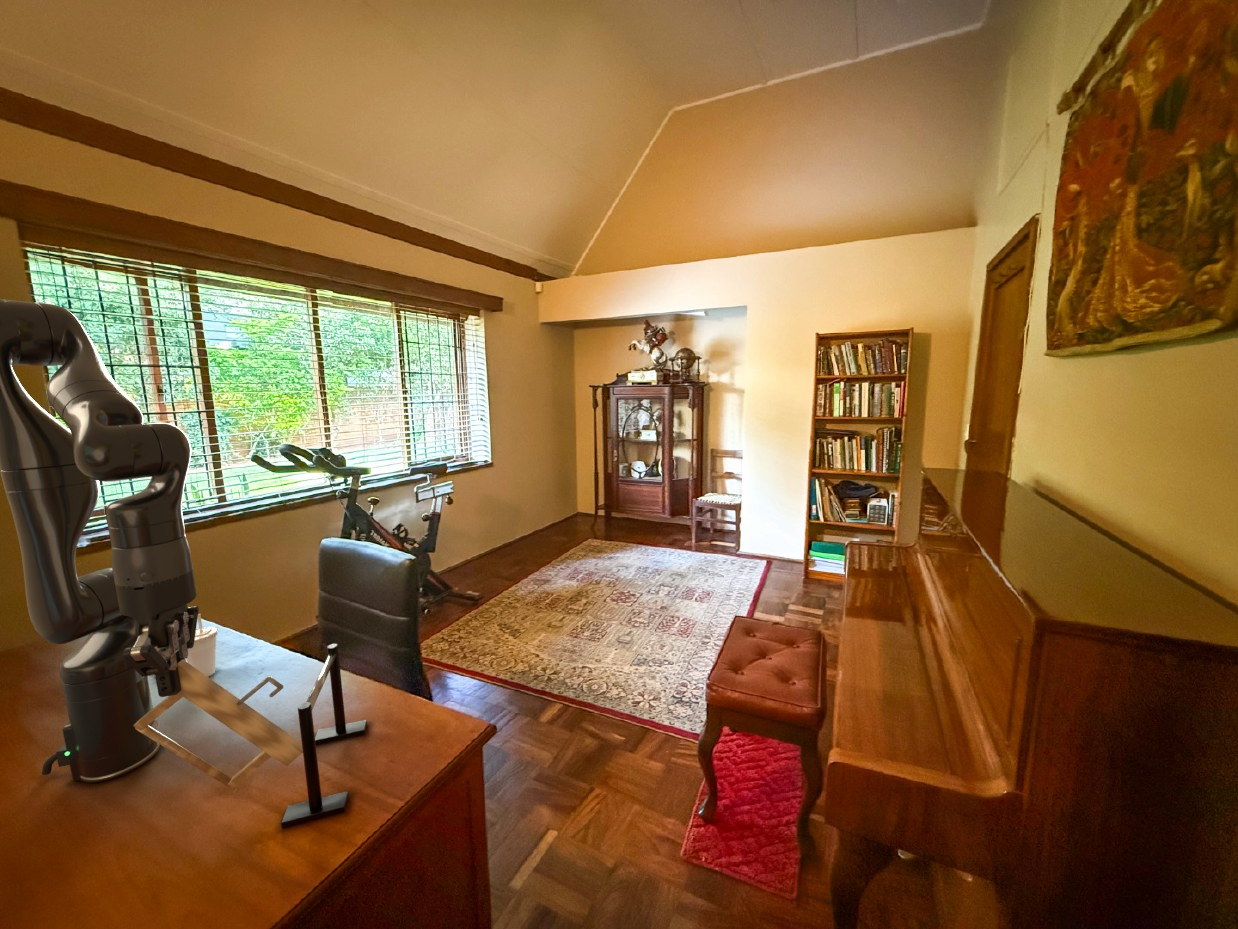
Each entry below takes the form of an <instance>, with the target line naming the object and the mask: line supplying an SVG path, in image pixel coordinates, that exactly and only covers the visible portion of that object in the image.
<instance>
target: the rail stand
mask: <svg viewBox="0 0 1238 929" xmlns="http://www.w3.org/2000/svg"><path fill="white" fill-rule="evenodd" d="M326 650H327V656H326V658H325V662H324V663H323V666H322V668H321V669H320V672H319V674H318V677H317V678H316V681H315V683H314V685H313V686H312V688H311V691H310V693H309V694H308V695H309V696H308V697H307V700H306V702H303V703H301V704H299V705H298V706H297V713H298V723H299V730H300V740H301V743H302V749H303V753H302V757H303V763H304V774H305V781H306V782H305V783H306V790H307V798H308V800H306V801H302V802H298V803H294V804H290V805H287V807H286V809H285V812H284V814H283V816H282V820H281V822H280V825H281V829H282V830H283V829H287V828H290V827H293V826H299V825H302V824H306V823H310V822H313V821H317V820H320V819H324V818H329V817H333V816H337V815H340V814H345V813H346V809H347V806H348V801H349V798H350V794H349V790H346V791H342V792H337V793H334V794H330V795H326V796H322V790H321V788H322V787H321V779H320V771H319V763H318V754H317V746H318V745H324V744H328V743H333V742H337V741H342V740H347V739H351V738H356V737H360V736H361V737H362V736H365V734H366V731H367V727H368V719H363V720H362V719H361V720H359V721H353V722H348V723H346V714H345V713H346V712H345V704H344V703H345V702H344V695H343V685H342V684H343V683H342V674H341V663H340V653H339V644H338V643H331V644H329V645H327V649H326ZM328 676H329V679H330V687H331V697H332V707H333V715H334V716H333V717H334V725H333V726H329V727H323V728H320V729H319V728H318V730H317V731H316V734H315V725H314V718H313V709H314V707H315V705H316V702H317V700H318V698H319V695H320V693H321V691H322V690H323V686H324V684H325V682H326V680H327V679H328V678H327V677H328Z"/></svg>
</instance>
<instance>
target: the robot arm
mask: <svg viewBox="0 0 1238 929" xmlns="http://www.w3.org/2000/svg"><path fill="white" fill-rule="evenodd" d="M13 366H35V367H37V366H38V367H41V366H42V367H58V366H60V367H59V368H58V369H57V370H56V371H55V372H54V373H53V374H52V376H51V377H50V378H49V380H48V382H47V385H46V398H47V401H48V403H49V405H50V406H51V409H53V411H54V412H55V413H56V414H57V415H58V416H59V418H60V419H61V420H62V421H63V423H64V424H65V425H66V426H65V425H64V424H63V423H62V422H60V421H59V420H57V419H56V418H55V417H54V416H53V415H51V414H50V413H48V412H47V411H46V409H44V408H43V407H41V405H40V404H38V403H37V402H36V401H35V400H34V399H33V398H32V397H31V396H30V394H29V393H28V392H27V391H26V389H25V388H24V386H23V385H22V384H21V382H20V381H19V378H18V377H17V375H16V373H15V370H14V369H13ZM191 456H192V446H191V442H190V439H189V438H188V436H187V435H186V433H185V432H184V431H183V430H182V429H180V427H178V426H176V425H175V424H172V423H167V422H151V423H150V422H149V423H147V422H146V423H144V416H143V413H142V411H141V409H140V408H139V406H137V404H136V403H135V402H134V401H133V400H132V399H131V397H130V396H129V395H128V394H127V393H126V392H125V391H124V390H123V389H122V388H121V387H120V386H119V385H118V384H117V382H115V380H114V379H113V377H112V376H111V375H110V373H109V371H108V370H107V367H106V366H105V364H104V362H103V360H102V358H101V356H100V354H99V352H98V350H97V348H96V347H95V345H94V343H93V341H92V339H91V338H90V336H89V334H88V333H87V330H86V329H85V327H84V326H83V325H82V323H81V321H80V320H79V319H78V318H77V316H75V315H74V314H73V313H72V312H71V311H70V310H68V309H67V308H65V307H63V306H61V305H56V304H51V303H45V302H34V301H24V300H14V299H1V298H0V478H1V480H2V484H3V488H4V491H5V496H6V498H7V502H8V504H9V507H10V511H11V515H12V518H13V521H14V526H15V531H16V534H17V540H18V543H19V547H20V554H21V560H22V561H21V562H22V570H23V579H24V588H25V598H26V606H27V611H28V616H29V618H30V621H31V625H32V626H33V628H34V630H35V631H36V633H37V634H38V635H39V636H40V637H41V639H43V640H45V642H49V643H51V644H53V645H65V644H68V643H72V642H74V641H77V640H80V639H83V638H85V637H86V638H85V640H83V642H82V643H81V644H80V645H79V646H78V647H77V648H75V649H74V650H73V651H72V652H71V653H69V655H67V656H66V657H65V658H64V659H63V660H62V662H60V665H59V668H58V669H59V670H58V671H59V676H60V681H61V685H62V691H63V696H64V700H65V705H66V710H67V715H68V716H67V717H68V720H69V722H68V723H67V724H66V725H64V726H63V728H62V734H63V738H64V740H63V741H64V744H63V745H62V746H61V747H59V748H58V749H57V750H56V751H55V753H53V754H52V755H50V756H49V757H48V758H47V759H46V760H45V761H44V763H43V765H42V770H41V775H42V776H48V775H50V774H51V772H52V768H53V765H54V763H55V761H57V765H58V768H62V767H65V766H69V770H70V773H71V774H70V775H71V778H72V782H78V781H81V782H83V783H88V784H89V783H91V784H93V783H101V782H105V781H109V780H112V779H115V778H118V777H120V776H123V775H126V774H128V773H129V772H132V771H134V770H135V769H137V768H139V767H141V766H142V765H144V764H145V763H147V762H148V761H150V760H151V759H152V758H153V757H154V756H155V755H156V754H157V753H158V751H159V750H160V747H161V745H160V744H158V743H157V742H155V741H154V740H152V739H150V738H149V737H147V736H146V735H144V734H142V733H141V732H139V731H138V730H136V729H135V727H134V726H133V725H134V724H135V723H136V722H137V721H138V720H139V719H141V718H142V717H143V716H144V715H146V714H147V713H148V712H149V711H151V710H152V709H153V708H154V707H153V701H152V695H151V689H150V683H149V678H148V677H149V676H154V677H155V683H156V688H157V694H158V696H159V698H167V697H168V696H172V695H176V694H178V693H179V692H180V690H181V685H180V679H179V672H178V667H177V663H178V662H179V661H181V660H182V659H183V660H185V661H186V662H187V659H186V658H187V657H188V649H189V648H192V647H193V646H194V640H195V633H196V629H197V627H198V626H197V625H198V614H199V613H200V612H199V611H200V608H199V606H197V605H196V606H188V604H190V603H191V602H193V601H194V600H195V599H196V598H197V594H198V592H197V585H196V578H195V572H194V566H193V559H192V552H191V548H190V545H189V542H188V539H187V535H186V529H185V523H184V522H185V521H184V516H183V508H182V506H183V496H184V491H185V490H184V489H185V484H186V480H187V475H188V471H189V467H190V463H191ZM144 478H145V479H146V478H150V481H149V482H148V483H147V486H146V487H145V488H144V489H143V490H141V491H140V492H137V493H135V494H132V495H128V496H125V497H122V498H119V499H117V500H114V501H112V502H110V503H109V504H108V505H107V507H106V508H105V517H106V518H105V519H106V524H107V530H108V535H109V541H110V546H111V567H108V568H103V569H99V570H96V571H93V572H89V573H86V574H82V575H79V576H78V574H77V573H78V572H77V566H76V555H77V547H78V544H79V540H80V539H81V536H82V534H83V532H84V530H85V528H86V526H87V524H88V523H89V520H90V519H91V517H92V515H93V513H94V510H95V508H96V506H97V504H98V501H99V498H100V494H101V484H100V482H104V483H105V482H109V483H110V482H121V481H126V480H127V481H128V480H136V479H144ZM149 726H151V727H152V728H154V729H155V730H157V727H159V723H158V719H155V720H154V721H152V722H151V723H150V724H149Z"/></svg>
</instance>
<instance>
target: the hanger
mask: <svg viewBox="0 0 1238 929" xmlns="http://www.w3.org/2000/svg"><path fill="white" fill-rule="evenodd" d="M185 660H186V659H185ZM185 660H183V659H182V660H181V661H179V662H178V663H177V667H178V672H179V679H180V685H181V690H180V692H179V693H178V694H176V695H172V696H166V697H165V698H164V699H163V700H161V702H159V703H158V704H157V705H156V706H154V707H153V709H152V710H151V711H149V712H148V713H147V714H146V715H144V716H143V717H142V718H141V719H139V720H138V721H137V722H136V723H135V724H134V725H133V726H134V727H135V729H136V730H138V731H139V732H141V733H142V734H144V735H146V736H147V737H149V738H150V739H152V740H154V741H155V742H157V743H158V744H160V746H162V747H163V748H165V749H166V750H168V751H170V752H171V753H172V754H174V755H176V756H177V757H179V758H181V759H182V760H184V761H186V762H187V763H189V764H190V765H192V766H194V767H195V768H197V769H198V770H199V771H202V772H203V773H205V774H206V775H207V776H209V777H211V778H213V779H214V780H215V781H217V782H219V783H220V784H222V785H224V786H225V787H226V788H229V789H230V788H231V789H236V787H238V786H239V785H240V784H241V783H242V782H243V781H245V780H247V778H248V777H250V776H251V775H252V774H253V773H254V772H255V771H256V770H257V769H259V768H260V767H261V766H262V765H263V764H264V763H266V762H267V761H268V760H269V759H271V758H273V759H274V760H276V761H277V762H278V763H280V764H282V765H283V766H285V767H288V766H289V765H290V764H291V763H293V762H294V761H295V759H298V757H300V756H301V755H303V749H302V741H300V740H298V739H297V738H295V737H294V736H292V734H289V733H288V732H287V731H286V730H284V729H283V728H281V727H280V726H279V725H277V724H276V723H274V722H273V721H271V720H270V719H268V718H267V717H266V716H264V715H263V714H261V713H260V712H259V711H257V710H256V709H254V708H253V707H251V706H250V705H248V704H247V703H246V701H247V700H248V699H249V698H251V697H252V696H253V695H254V694H255V693H256V692H258V691H259V690H260V689H261V688H263V687H264V686H265V685H267V683H270V684H271V685H273V686H274V687H276V688H275V689H274V690H273V691H272V692H270V693H269V695H268V696H269V698H274V697H275V696H276V695H277V694H278V693H279V692H281V691H282V690H283V689H284V685H283V684H282V683H280V682H279V681H278V680H277V679H275V678H274V677H273V676H270V675H269V676H267V677H265V679H263V680H262V681H261V682H260V683H259V684H257V685H256V686H255V687H254V688H253V689H252V690H249V692H248V693H246V694H245V695H244V696H242V698H241V699H240V698H238V697H237V696H236V695H234V694H233V693H231V691H229V690H228V689H226V688H224V687H223V686H222V685H220V684H219V683H217V682H216V681H214V680H213V679H211V678H210V676H209V677H207V676H206V675H204V674H203V673H202V672H200V671H199V670H197V669H196V668H194V667H193V666H192V665H190V664H189V663H188V662H187V660H186V661H185ZM182 698H184V699H186V700H187V701H189V702H190V703H192V704H193V705H195V706H196V707H198V708H199V709H201V710H202V711H203V712H205V713H206V714H208V715H210V716H211V717H212V718H214V719H216V720H217V721H218V722H220V723H221V724H222V725H224V726H226V727H227V728H228V729H230V730H232V731H233V732H234V733H236V734H238V735H239V736H240V737H242V738H243V739H245V740H247V741H248V742H250V743H251V744H252V745H254V746H255V747H257V748H258V749H260V750H261V752H260V753H259V754H257V755H256V756H255V757H254V758H253V759H251V760H250V762H248V763H247V764H246V765H244V766H243V767H242V768H241V769H240V770H238V771H237V773H235V774H234V775H233V776H232V777H231V776H229V775H228V774H226V773H224V772H223V771H221V770H220V769H219V768H217V767H215V766H213V765H212V764H210V763H209V762H207V761H205V760H204V759H202V758H201V757H199V756H198V755H196V754H195V753H193V752H191V751H190V750H188V749H187V748H185V747H183V746H182V745H181V744H179V743H177V742H176V741H175V740H173V739H171V738H170V737H168V736H166V735H165V734H163V733H162V732H160V731H158V730H157V729H156V730H155V729H154V728H152V727H151V726H149V724H150V723H151V722H152V721H154V720H155V721H156V720H157V718H159V717H160V716H161V715H162V714H164V713H165V712H166V711H167V710H170V708H171V707H173V705H175V704H176V703H177V702H179V701H180V700H181V699H182Z"/></svg>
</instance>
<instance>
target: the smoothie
mask: <svg viewBox="0 0 1238 929" xmlns="http://www.w3.org/2000/svg"><path fill="white" fill-rule="evenodd" d="M197 625H198V628H196V633H195V640H194V646H193V647H192V648H189V649H188V657H187V658H186V659H185V660H186V662H187V663H189V664H190V665H192V666H193V667H194V668H196V669H197V670H199V671H200V672H202V673H203V674H204V675H206V676H207V677H209V678H210V677H211V676H213V675H214V674H215V672H216V655H217V654H216V649H217V648H216V647H217V636H218V634H219V633H218V628H216V627H213V626H206V627H203V623H202V616H201V613H198V619H197Z"/></svg>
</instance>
